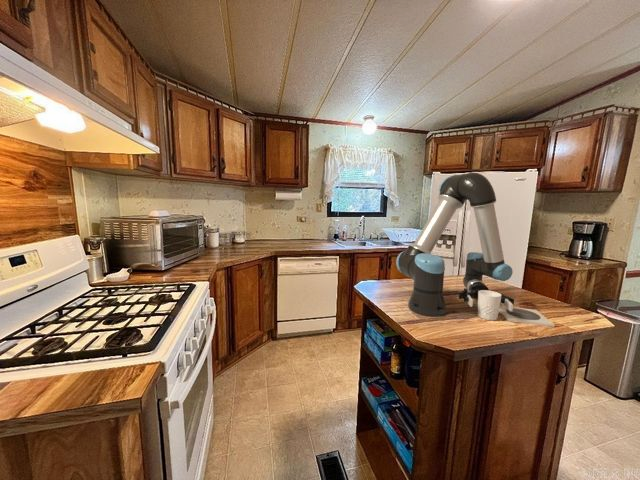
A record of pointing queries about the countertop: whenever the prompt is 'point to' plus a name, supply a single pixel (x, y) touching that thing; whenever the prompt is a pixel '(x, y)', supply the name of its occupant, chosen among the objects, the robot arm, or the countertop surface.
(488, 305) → the white cup
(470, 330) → the countertop surface
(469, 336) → the countertop surface
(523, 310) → the trivet
